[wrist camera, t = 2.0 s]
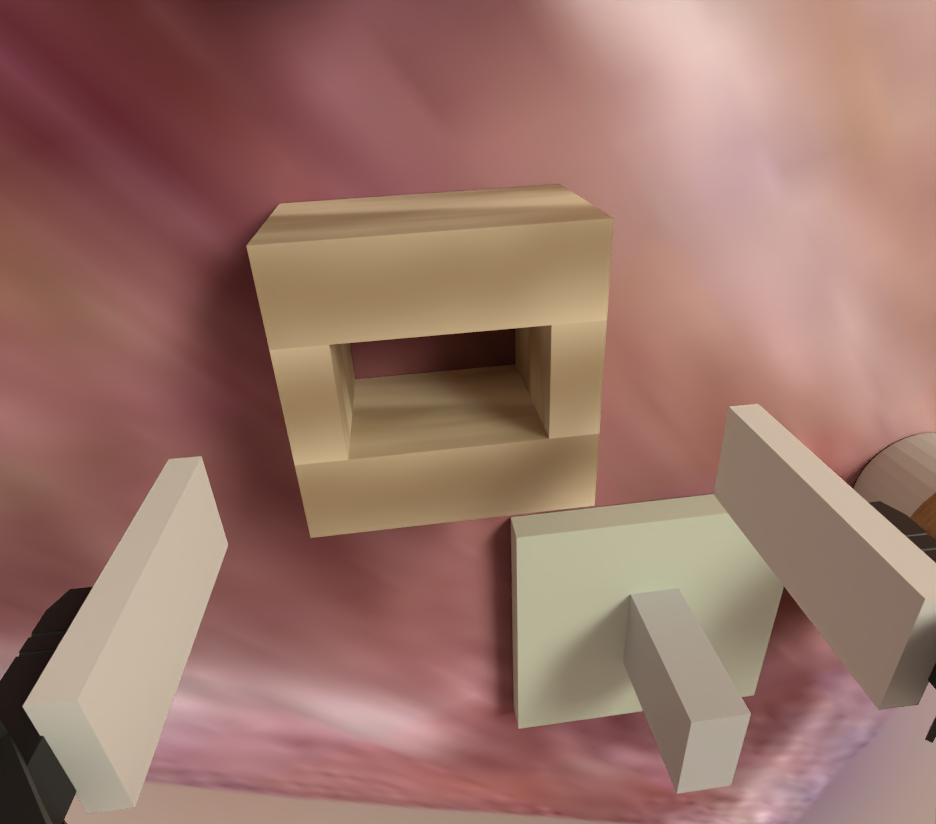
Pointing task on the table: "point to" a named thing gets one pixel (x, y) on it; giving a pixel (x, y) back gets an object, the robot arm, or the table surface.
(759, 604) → the base
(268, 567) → the table surface
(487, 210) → the collar
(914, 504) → the coffee cup
